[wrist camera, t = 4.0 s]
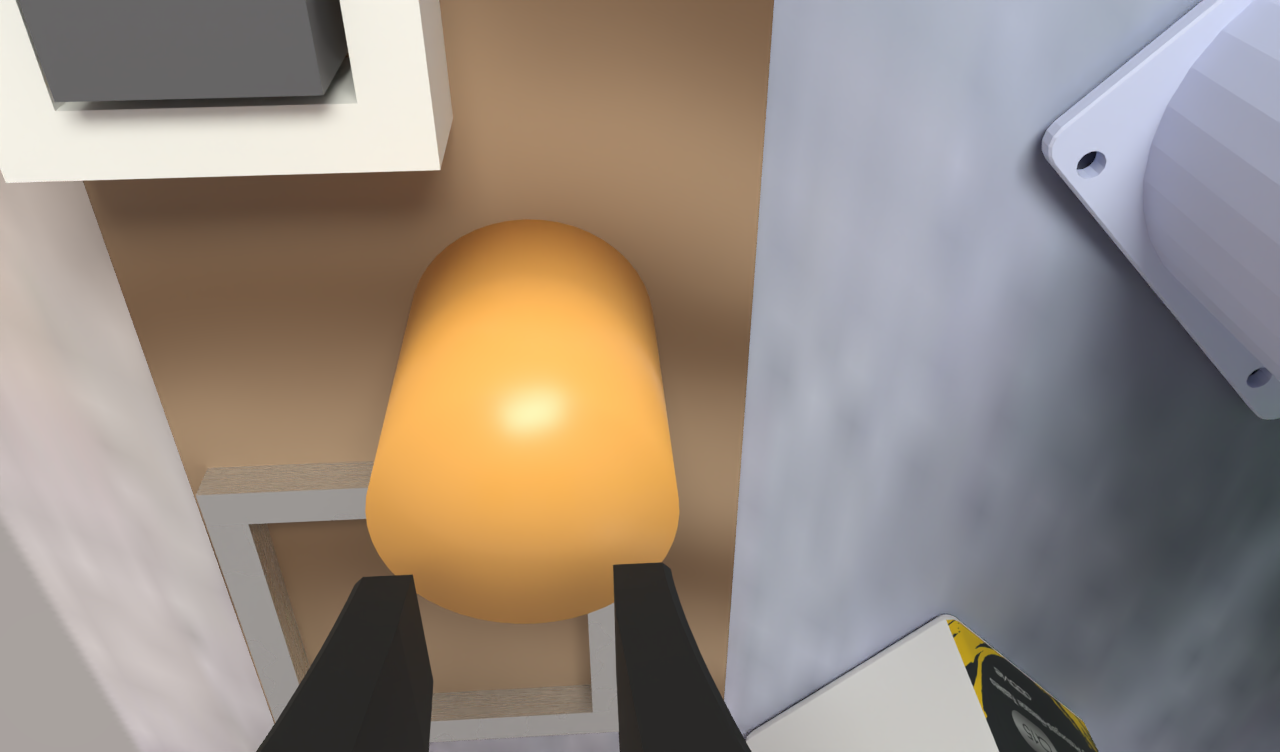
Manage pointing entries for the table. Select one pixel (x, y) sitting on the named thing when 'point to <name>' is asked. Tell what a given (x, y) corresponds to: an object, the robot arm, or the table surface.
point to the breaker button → (186, 48)
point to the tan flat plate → (421, 229)
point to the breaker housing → (241, 113)
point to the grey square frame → (264, 609)
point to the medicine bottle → (928, 704)
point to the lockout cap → (525, 428)
